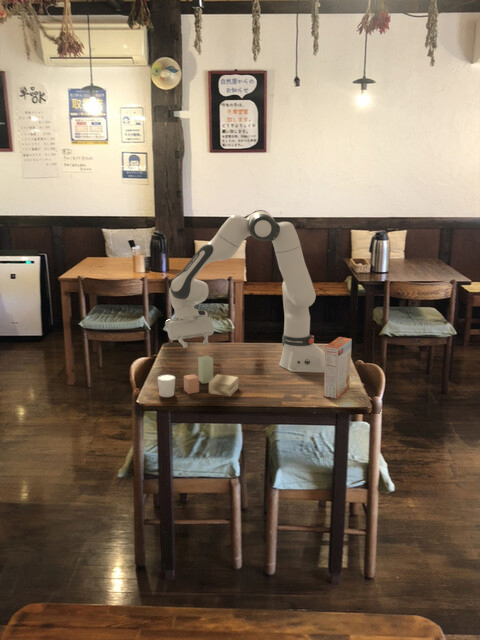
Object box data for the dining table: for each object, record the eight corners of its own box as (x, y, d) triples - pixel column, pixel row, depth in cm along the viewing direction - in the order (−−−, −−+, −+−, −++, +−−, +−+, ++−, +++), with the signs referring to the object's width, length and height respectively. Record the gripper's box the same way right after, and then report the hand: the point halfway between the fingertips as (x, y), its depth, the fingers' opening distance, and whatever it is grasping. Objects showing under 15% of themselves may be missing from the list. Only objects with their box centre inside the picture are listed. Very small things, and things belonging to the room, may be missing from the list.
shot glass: (172, 398, 235) (172, 381, 233) (155, 396, 236) (154, 379, 234) (177, 391, 242) (177, 375, 240) (161, 390, 243) (160, 373, 241)
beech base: (238, 388, 246) (238, 377, 245) (230, 396, 238) (230, 384, 237) (217, 385, 249) (217, 374, 248) (208, 393, 241) (208, 381, 239)
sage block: (208, 378, 256) (208, 355, 253) (213, 381, 252) (213, 358, 250) (198, 380, 254) (198, 357, 251) (203, 383, 250) (203, 360, 248)
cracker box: (335, 385, 250) (338, 336, 245) (349, 388, 247) (353, 338, 242) (322, 396, 239) (324, 345, 233) (336, 399, 236) (339, 347, 230)
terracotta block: (194, 388, 245) (194, 374, 244) (199, 392, 242) (198, 377, 240) (183, 390, 243) (183, 375, 242) (188, 394, 240) (188, 379, 238)
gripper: (165, 316, 256) (174, 345, 251) (210, 310, 266) (220, 338, 260) (162, 323, 261) (170, 352, 256) (205, 318, 271) (215, 345, 265)
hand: (196, 345), depth 258 cm, fingers open, 8 cm apart
